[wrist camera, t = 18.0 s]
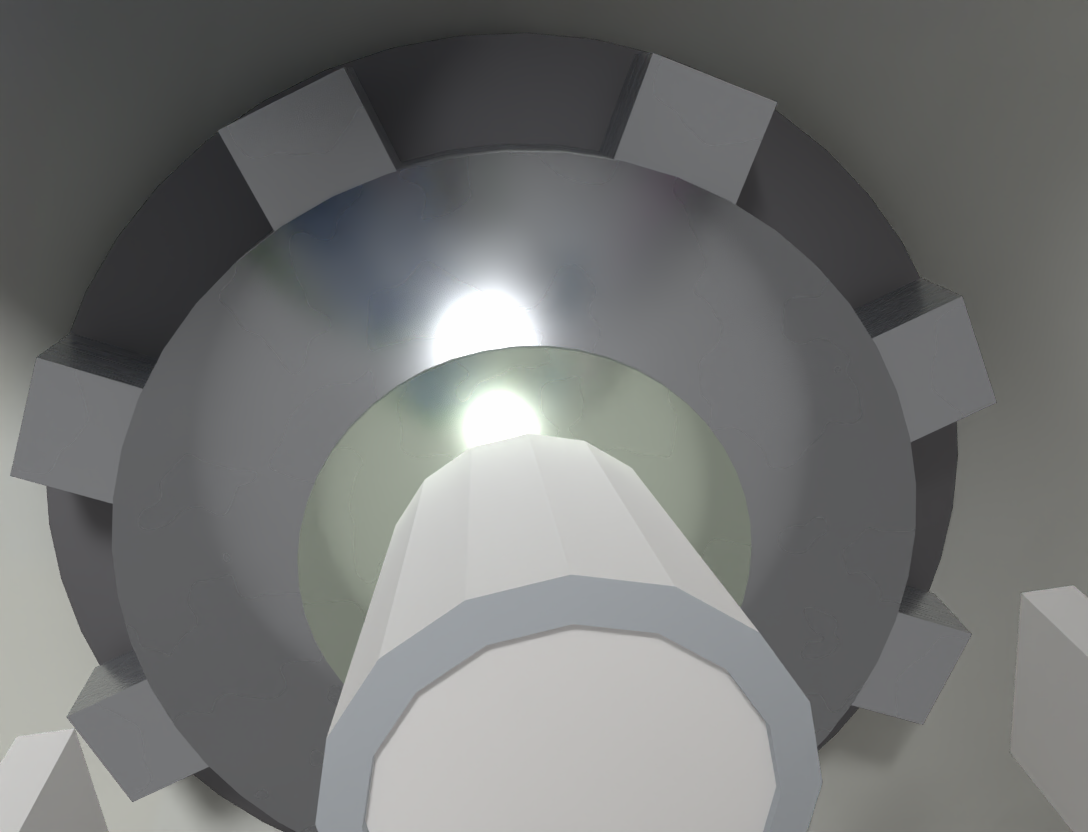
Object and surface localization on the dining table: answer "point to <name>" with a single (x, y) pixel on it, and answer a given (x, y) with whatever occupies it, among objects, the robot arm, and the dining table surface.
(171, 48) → the dining table surface
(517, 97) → the sprocket base
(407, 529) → the shot glass
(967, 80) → the dining table surface
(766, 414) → the sprocket
